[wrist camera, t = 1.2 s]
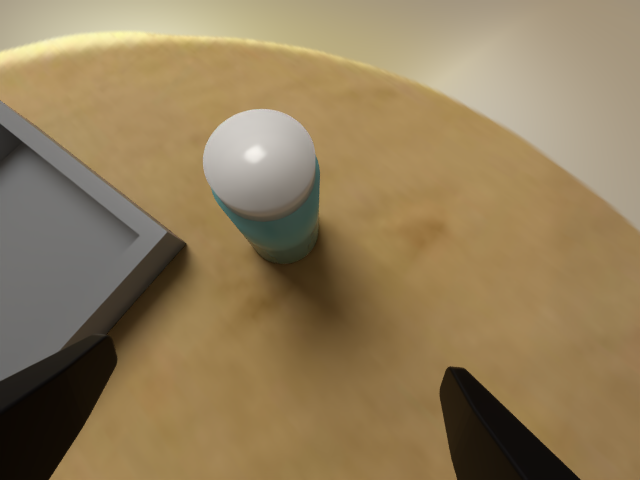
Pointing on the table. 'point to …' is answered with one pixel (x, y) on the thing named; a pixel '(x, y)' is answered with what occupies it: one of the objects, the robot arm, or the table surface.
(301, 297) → the table surface
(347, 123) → the table surface
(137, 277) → the tray
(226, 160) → the ball
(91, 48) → the table surface
